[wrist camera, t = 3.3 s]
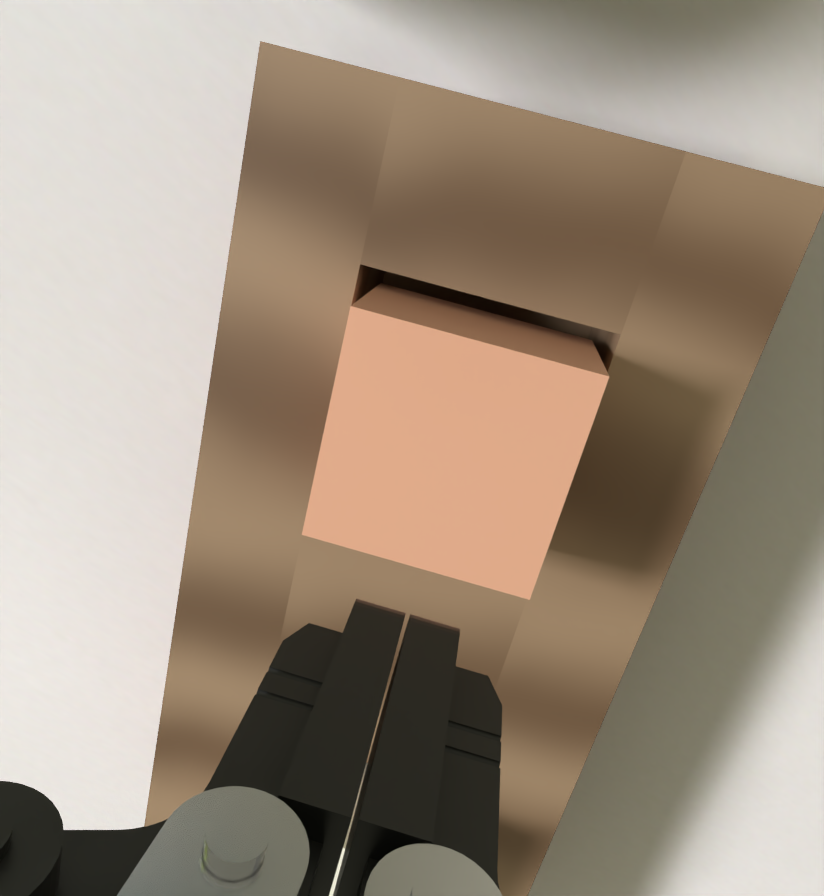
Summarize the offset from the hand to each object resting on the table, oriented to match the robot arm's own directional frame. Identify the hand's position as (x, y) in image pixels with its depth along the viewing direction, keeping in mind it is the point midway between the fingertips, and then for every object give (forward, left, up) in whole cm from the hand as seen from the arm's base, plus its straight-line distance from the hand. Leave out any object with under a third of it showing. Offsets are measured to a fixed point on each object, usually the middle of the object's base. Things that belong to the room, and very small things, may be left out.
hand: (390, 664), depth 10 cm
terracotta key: (0, 0, -12) cm, 12 cm away
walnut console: (+8, 0, -17) cm, 19 cm away
